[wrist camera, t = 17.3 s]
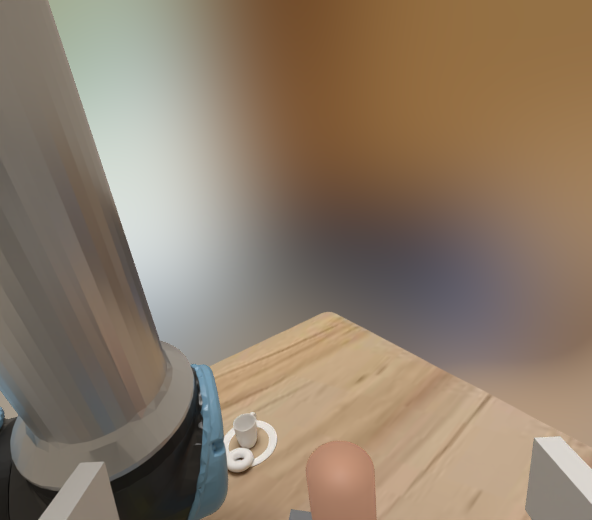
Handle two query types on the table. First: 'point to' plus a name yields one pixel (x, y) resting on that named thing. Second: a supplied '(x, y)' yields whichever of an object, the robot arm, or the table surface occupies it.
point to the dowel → (341, 482)
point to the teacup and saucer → (247, 442)
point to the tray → (300, 515)
